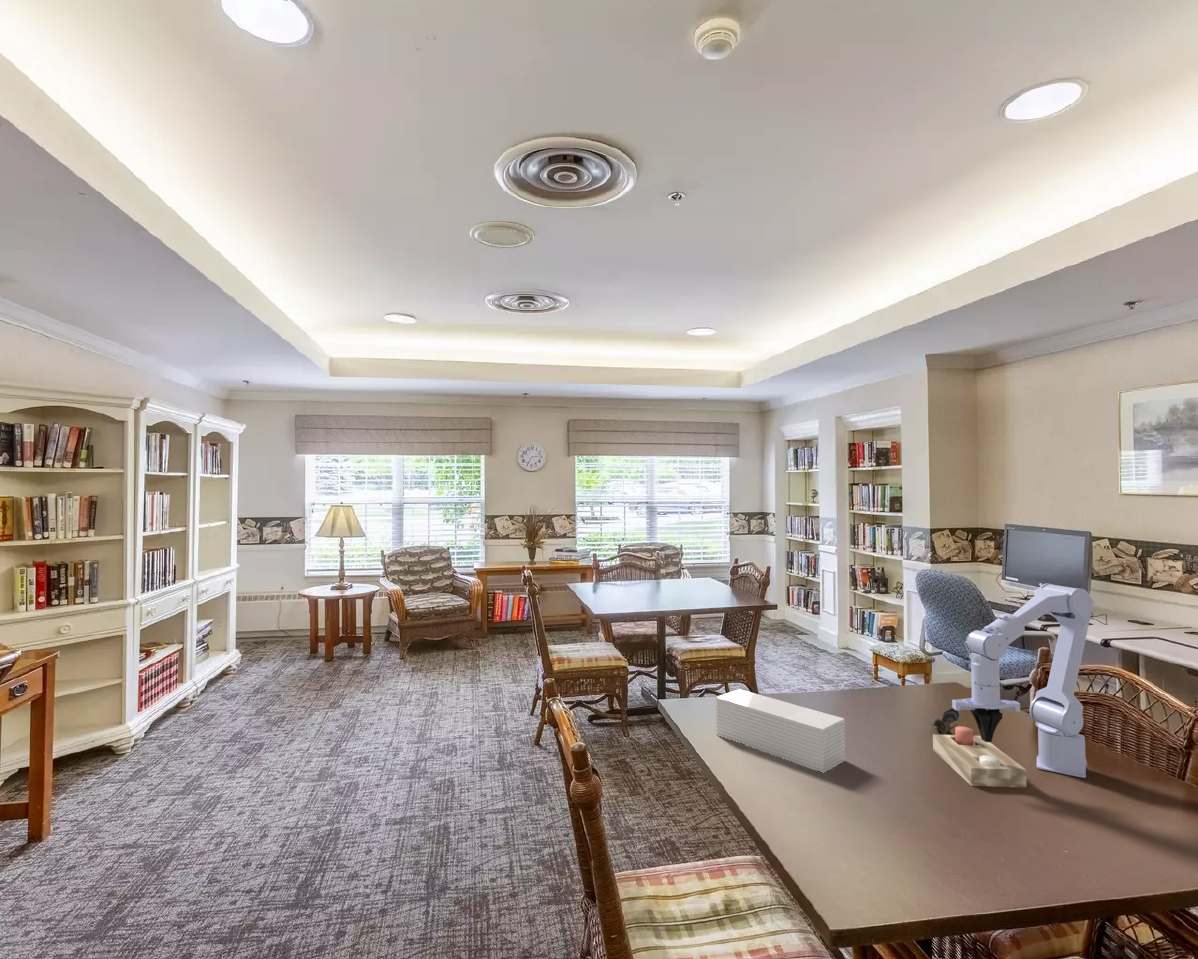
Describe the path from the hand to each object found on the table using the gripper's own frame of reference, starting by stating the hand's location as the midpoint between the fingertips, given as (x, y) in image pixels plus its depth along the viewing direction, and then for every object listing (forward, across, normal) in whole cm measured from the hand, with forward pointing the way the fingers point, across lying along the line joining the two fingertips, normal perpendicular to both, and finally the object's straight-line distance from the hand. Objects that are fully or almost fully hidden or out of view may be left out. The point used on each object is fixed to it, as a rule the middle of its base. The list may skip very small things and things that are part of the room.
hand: (986, 740), depth 150 cm
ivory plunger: (+8, 0, +1) cm, 8 cm away
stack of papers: (+9, +46, -14) cm, 49 cm away
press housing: (+8, 0, -5) cm, 10 cm away
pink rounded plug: (+6, 0, -11) cm, 12 cm away
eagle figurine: (+9, -3, -27) cm, 28 cm away
